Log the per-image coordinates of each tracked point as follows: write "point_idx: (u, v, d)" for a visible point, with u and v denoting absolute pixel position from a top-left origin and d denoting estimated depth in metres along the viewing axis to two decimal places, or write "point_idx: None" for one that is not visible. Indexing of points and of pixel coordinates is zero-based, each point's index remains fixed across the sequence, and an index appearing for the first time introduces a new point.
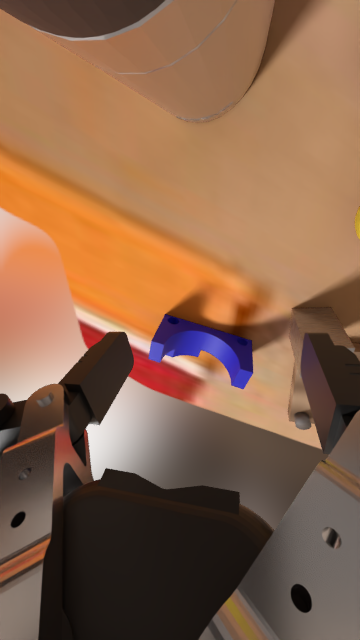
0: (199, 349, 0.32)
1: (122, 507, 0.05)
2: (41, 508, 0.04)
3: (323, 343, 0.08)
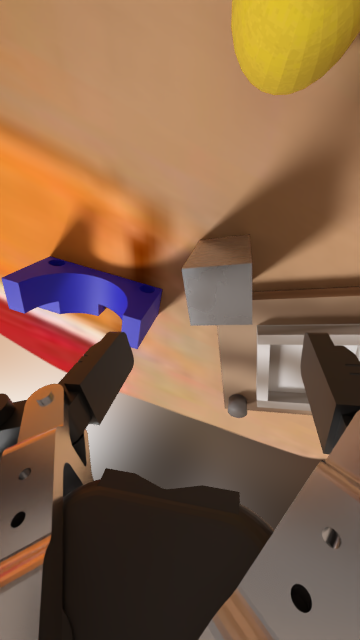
0: (96, 304, 0.24)
1: (122, 507, 0.05)
2: (41, 508, 0.04)
3: (323, 343, 0.08)
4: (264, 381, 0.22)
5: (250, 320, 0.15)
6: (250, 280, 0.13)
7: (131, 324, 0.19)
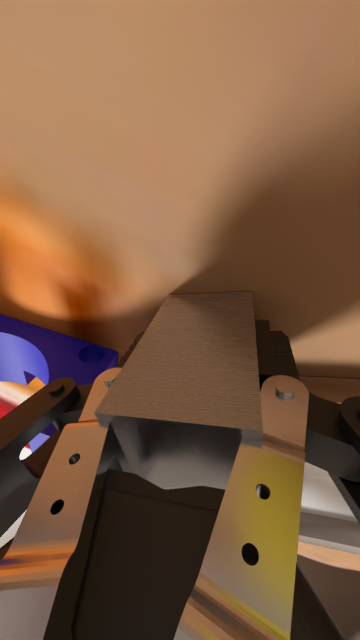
0: (21, 370, 0.16)
1: (122, 507, 0.05)
2: (77, 505, 0.04)
3: (261, 328, 0.10)
4: None
5: None
6: None
7: (42, 441, 0.10)
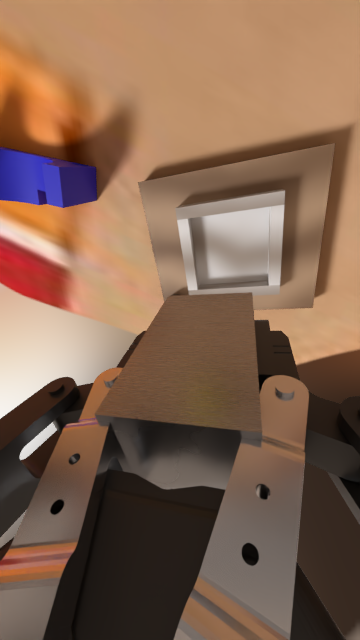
0: (35, 189, 0.25)
1: (122, 507, 0.05)
2: (78, 505, 0.04)
3: (261, 328, 0.10)
4: (190, 265, 0.23)
5: None
6: None
7: (51, 174, 0.19)
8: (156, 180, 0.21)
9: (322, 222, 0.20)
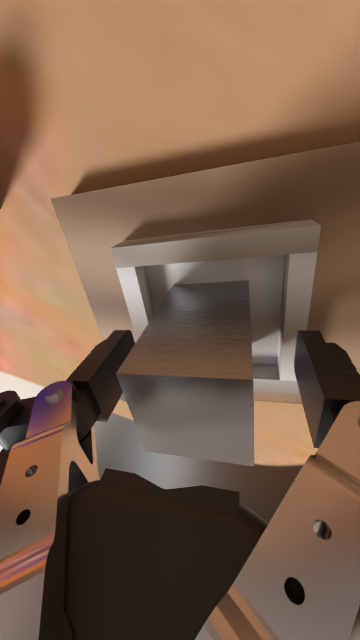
0: None
1: (122, 507, 0.05)
2: (46, 507, 0.04)
3: (315, 340, 0.08)
4: None
5: (250, 460, 0.08)
6: (250, 406, 0.07)
7: None
8: (80, 196, 0.12)
9: None
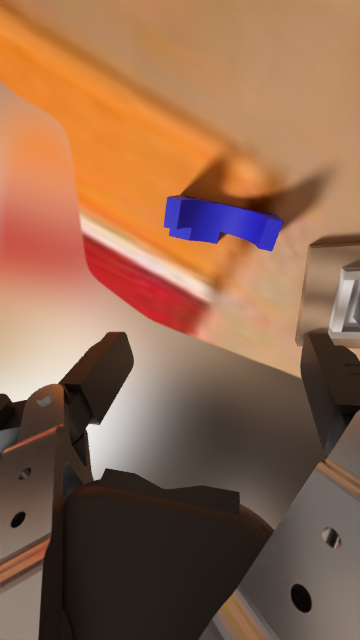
0: (218, 231, 0.29)
1: (122, 507, 0.05)
2: (42, 508, 0.04)
3: (323, 343, 0.08)
4: (342, 313, 0.29)
5: None
6: None
7: (273, 226, 0.24)
8: (329, 248, 0.27)
9: None
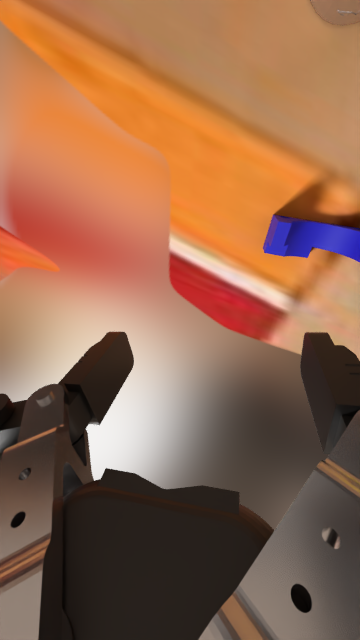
0: (310, 247, 0.32)
1: (122, 507, 0.05)
2: (42, 508, 0.04)
3: (323, 343, 0.08)
4: None
5: None
6: None
7: None
8: None
9: None
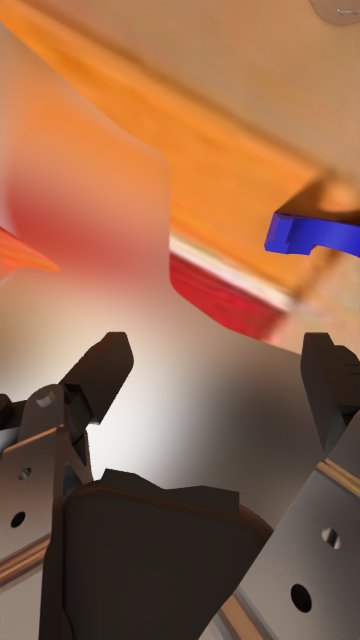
0: (312, 244, 0.32)
1: (122, 507, 0.05)
2: (42, 508, 0.04)
3: (323, 343, 0.08)
4: None
5: None
6: None
7: None
8: None
9: None
